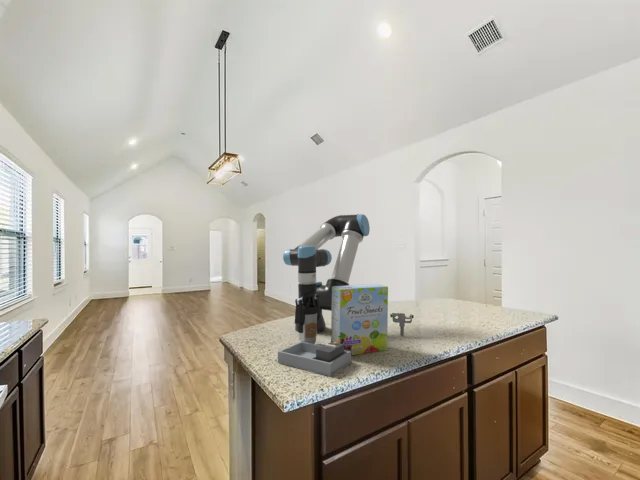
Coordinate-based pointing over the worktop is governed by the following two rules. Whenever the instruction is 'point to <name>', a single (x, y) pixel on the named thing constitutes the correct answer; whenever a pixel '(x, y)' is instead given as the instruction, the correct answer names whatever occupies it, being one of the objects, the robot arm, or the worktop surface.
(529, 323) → the worktop surface
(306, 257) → the robot arm
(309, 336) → the coffee cup
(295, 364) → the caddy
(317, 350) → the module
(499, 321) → the worktop surface
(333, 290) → the snack box
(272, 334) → the worktop surface
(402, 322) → the mechanical component
